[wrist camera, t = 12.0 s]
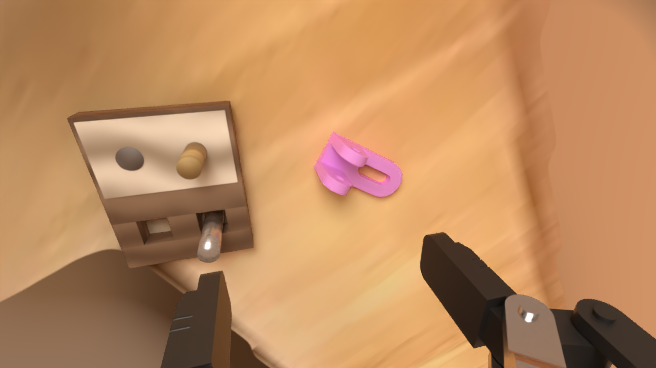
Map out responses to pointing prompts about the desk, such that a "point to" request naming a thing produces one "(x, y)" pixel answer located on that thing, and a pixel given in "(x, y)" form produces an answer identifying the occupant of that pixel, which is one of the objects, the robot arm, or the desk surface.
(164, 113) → the pin board
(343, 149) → the bracket
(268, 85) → the desk surface
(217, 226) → the grey metal pin
